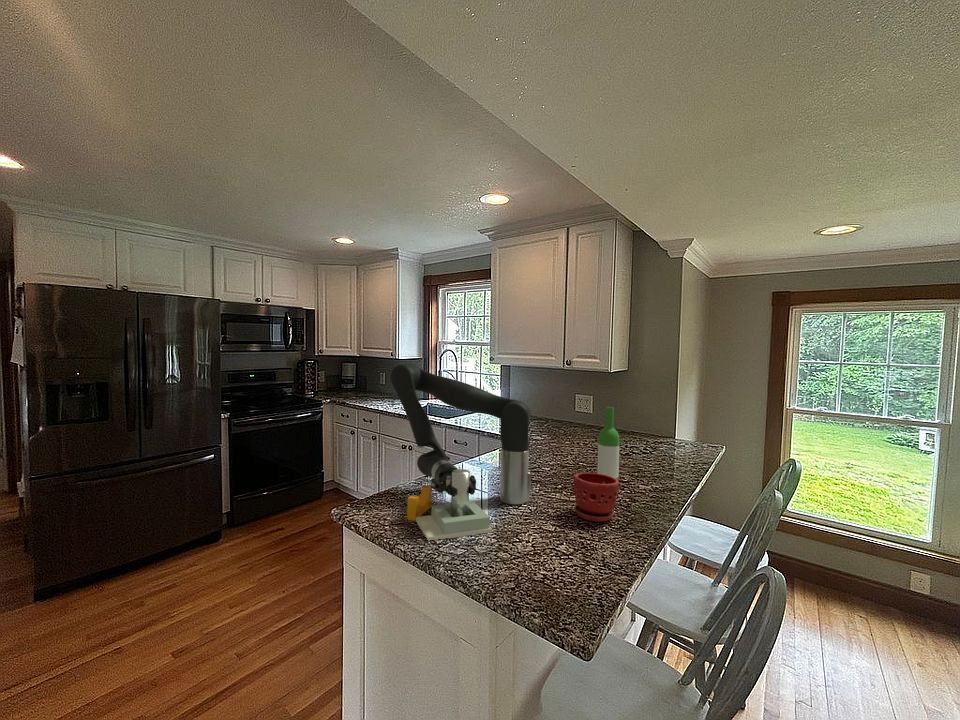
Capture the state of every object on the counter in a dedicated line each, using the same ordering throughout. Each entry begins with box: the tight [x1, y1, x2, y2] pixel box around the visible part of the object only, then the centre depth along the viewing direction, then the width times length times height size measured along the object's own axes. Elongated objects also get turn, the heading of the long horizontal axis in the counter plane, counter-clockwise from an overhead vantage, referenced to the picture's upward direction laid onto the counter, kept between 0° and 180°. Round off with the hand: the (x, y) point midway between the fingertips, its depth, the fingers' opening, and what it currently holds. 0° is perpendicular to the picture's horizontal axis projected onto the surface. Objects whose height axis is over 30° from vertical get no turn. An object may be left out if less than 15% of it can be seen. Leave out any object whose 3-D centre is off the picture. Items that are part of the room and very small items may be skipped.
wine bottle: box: [596, 406, 620, 484], centre depth 158 cm, size 8×8×30 cm
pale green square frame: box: [415, 500, 493, 542], centre depth 115 cm, size 18×14×4 cm
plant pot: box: [573, 472, 620, 522], centre depth 125 cm, size 13×13×12 cm
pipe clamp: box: [406, 485, 433, 522], centre depth 124 cm, size 12×4×6 cm, turn 164°
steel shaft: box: [450, 468, 471, 517], centre depth 115 cm, size 5×5×13 cm
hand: (463, 492), depth 113 cm, fingers closed on steel shaft, 5 cm apart
